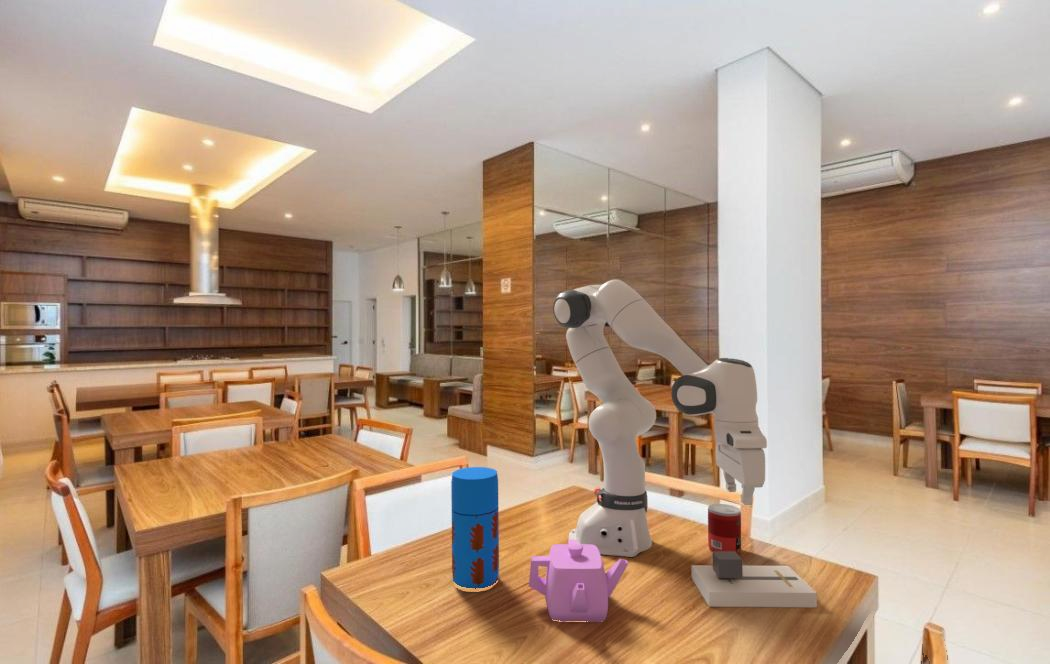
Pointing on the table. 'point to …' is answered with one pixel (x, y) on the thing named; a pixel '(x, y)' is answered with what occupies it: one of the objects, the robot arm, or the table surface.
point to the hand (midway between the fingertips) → (738, 497)
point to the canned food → (724, 528)
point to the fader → (727, 564)
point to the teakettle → (575, 582)
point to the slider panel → (754, 587)
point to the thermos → (475, 527)
